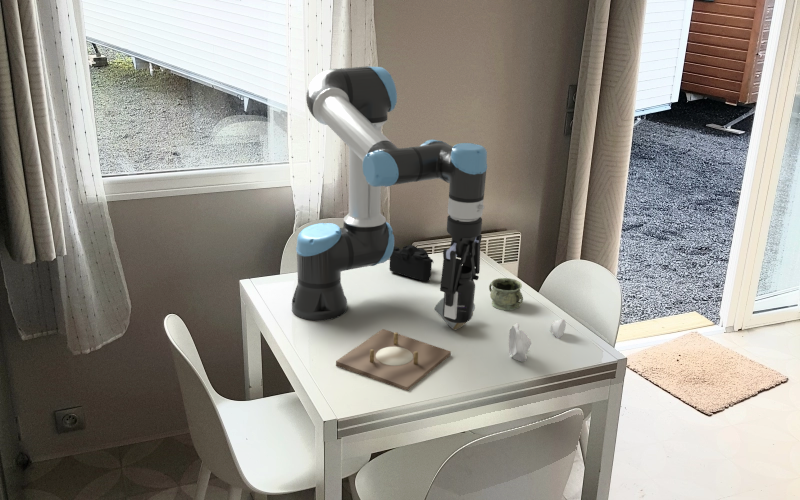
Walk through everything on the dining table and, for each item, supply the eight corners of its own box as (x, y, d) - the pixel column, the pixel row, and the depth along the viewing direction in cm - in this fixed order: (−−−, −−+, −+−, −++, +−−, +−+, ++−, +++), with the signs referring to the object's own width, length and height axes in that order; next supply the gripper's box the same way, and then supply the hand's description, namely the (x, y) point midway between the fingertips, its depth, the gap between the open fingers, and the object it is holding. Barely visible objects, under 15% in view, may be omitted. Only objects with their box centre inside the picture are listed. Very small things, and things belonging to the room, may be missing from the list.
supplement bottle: (452, 326, 173) (455, 277, 169) (436, 313, 179) (439, 265, 174) (478, 320, 176) (482, 272, 172) (462, 308, 182) (466, 261, 177)
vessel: (531, 307, 218) (533, 286, 216) (511, 316, 213) (513, 295, 210) (498, 293, 226) (499, 273, 224) (478, 301, 220) (479, 281, 218)
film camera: (443, 272, 239) (444, 245, 235) (425, 283, 231) (427, 255, 228) (402, 260, 247) (403, 234, 243) (384, 270, 239) (385, 243, 236)
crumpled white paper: (533, 371, 186) (537, 335, 182) (515, 371, 185) (519, 335, 182) (524, 350, 195) (527, 315, 191) (506, 350, 195) (510, 315, 191)
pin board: (336, 366, 185) (336, 349, 183) (382, 334, 201) (383, 318, 199) (407, 393, 175) (407, 375, 174) (450, 356, 191) (451, 340, 189)
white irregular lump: (558, 341, 200) (560, 324, 198) (547, 338, 201) (549, 321, 199) (565, 334, 204) (567, 317, 202) (554, 331, 205) (556, 314, 203)
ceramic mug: (452, 335, 204) (458, 323, 198) (431, 313, 207) (436, 300, 200) (480, 313, 209) (487, 300, 202) (459, 291, 211) (465, 278, 205)
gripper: (458, 233, 159) (451, 332, 167) (500, 207, 174) (492, 300, 183) (426, 225, 162) (421, 322, 171) (470, 200, 178) (464, 291, 186)
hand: (458, 310), depth 177 cm, fingers closed on supplement bottle, 7 cm apart
